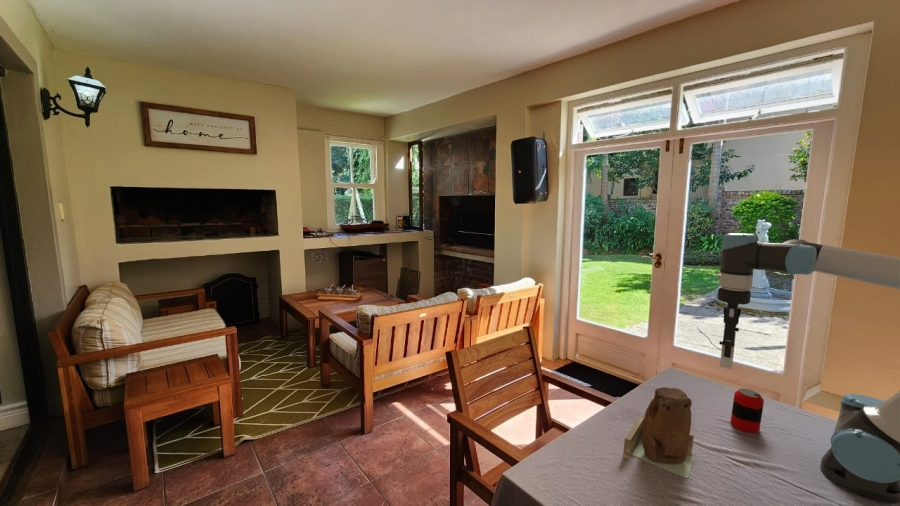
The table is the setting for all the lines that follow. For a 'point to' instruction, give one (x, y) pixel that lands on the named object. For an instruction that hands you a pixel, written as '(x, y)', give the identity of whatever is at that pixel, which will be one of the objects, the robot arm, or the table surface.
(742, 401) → the soda can
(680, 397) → the brown sandstone rock
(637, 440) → the wooden l-shaped piece
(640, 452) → the pad
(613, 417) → the table surface
